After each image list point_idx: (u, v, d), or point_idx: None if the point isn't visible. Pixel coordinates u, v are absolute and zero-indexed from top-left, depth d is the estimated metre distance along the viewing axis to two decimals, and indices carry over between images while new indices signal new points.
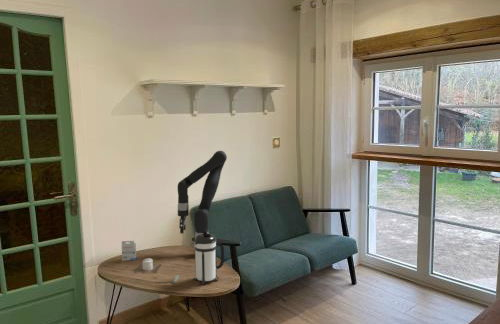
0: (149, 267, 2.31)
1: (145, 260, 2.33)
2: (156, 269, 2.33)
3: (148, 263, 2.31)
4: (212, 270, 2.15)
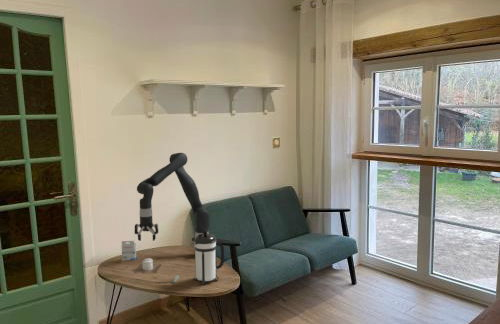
0: (149, 267, 2.31)
1: (145, 260, 2.33)
2: (156, 269, 2.33)
3: (148, 263, 2.31)
4: (212, 270, 2.15)
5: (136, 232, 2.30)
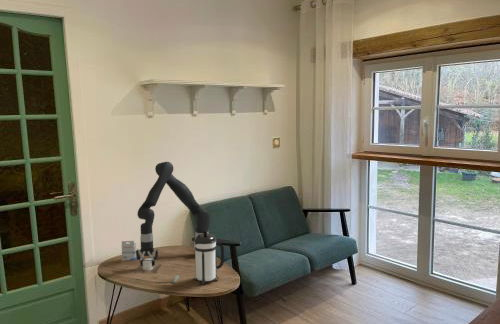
0: (149, 267, 2.31)
1: (145, 260, 2.33)
2: (156, 269, 2.33)
3: (148, 263, 2.31)
4: (212, 270, 2.15)
5: (138, 258, 2.32)
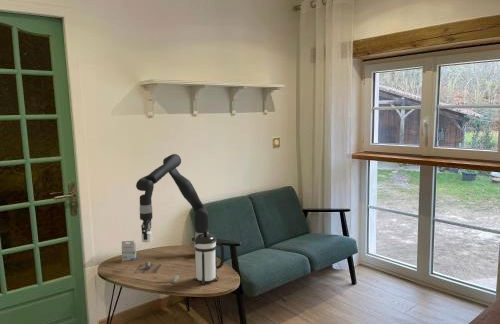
0: None
1: (147, 232, 2.30)
2: (156, 269, 2.33)
3: (151, 233, 2.33)
4: (212, 270, 2.15)
5: (146, 231, 2.26)
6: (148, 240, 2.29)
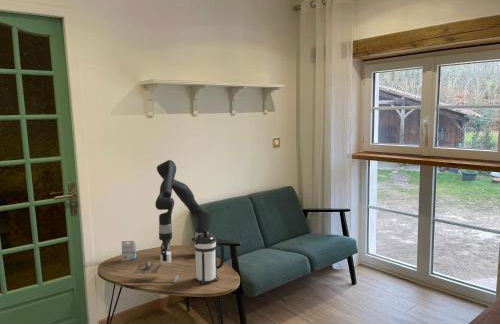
0: None
1: None
2: (156, 269, 2.33)
3: None
4: (212, 270, 2.15)
5: (165, 252, 2.15)
6: (167, 261, 2.18)
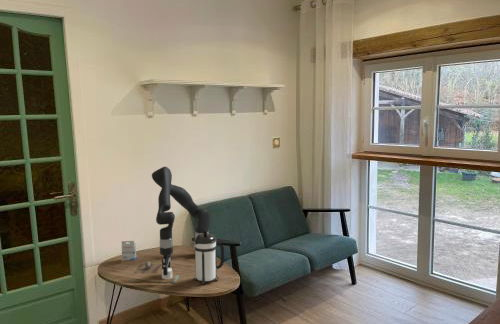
0: None
1: (167, 270, 2.20)
2: (156, 269, 2.33)
3: None
4: (212, 270, 2.15)
5: (166, 267, 2.14)
6: (168, 278, 2.19)
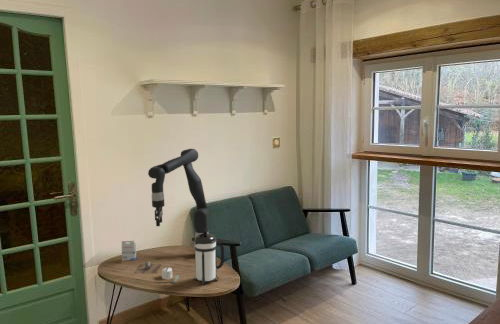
0: None
1: (167, 270, 2.20)
2: (156, 269, 2.33)
3: None
4: (212, 270, 2.15)
5: (159, 218, 2.29)
6: (168, 278, 2.19)
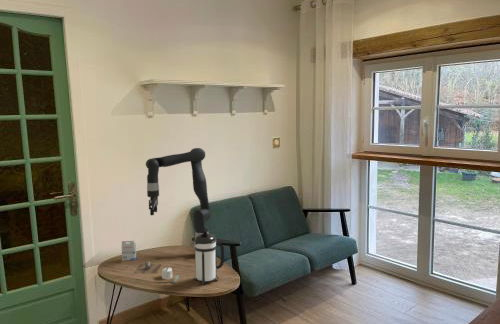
0: None
1: (167, 270, 2.20)
2: (156, 269, 2.33)
3: None
4: (212, 270, 2.15)
5: (153, 207, 2.39)
6: (168, 278, 2.19)
